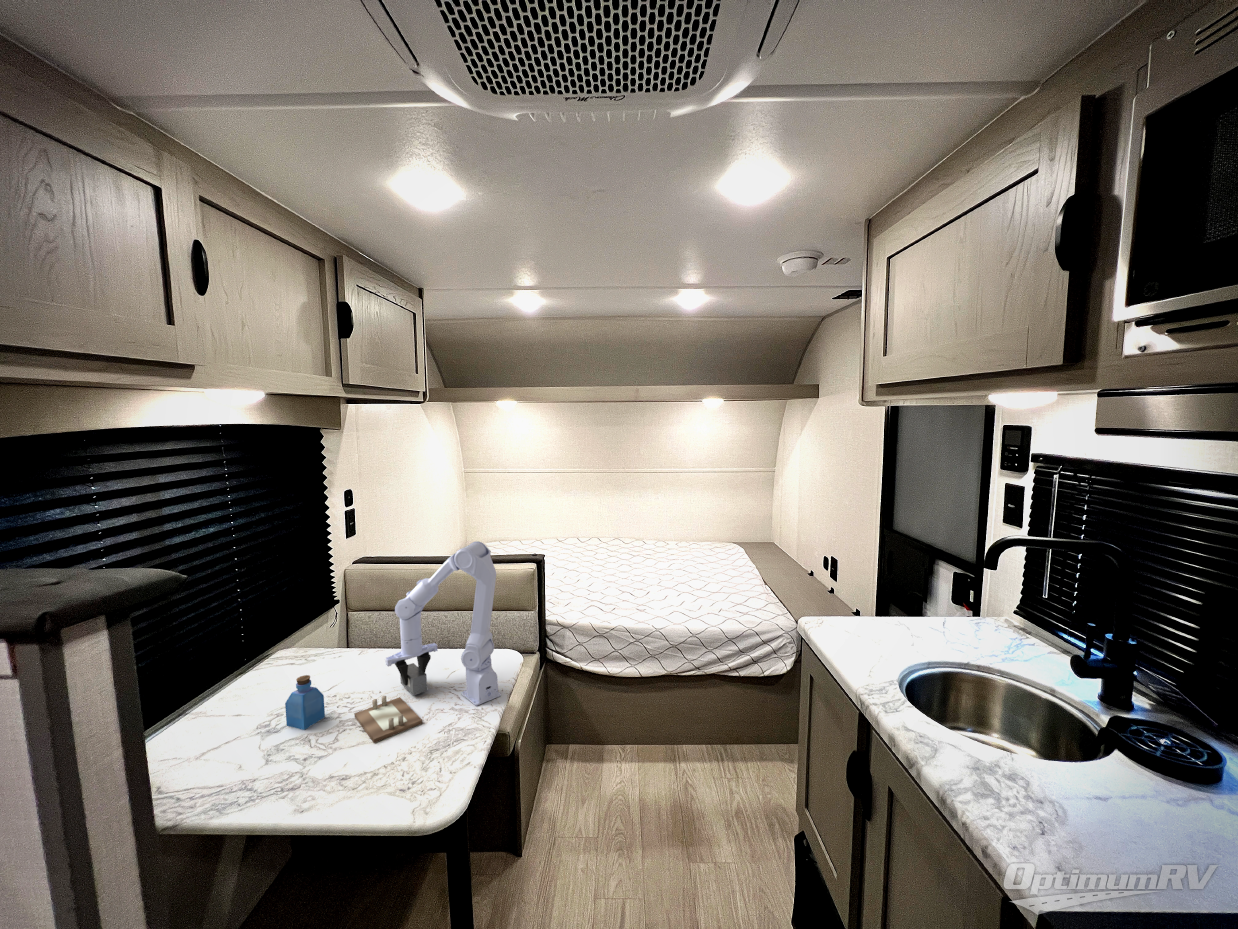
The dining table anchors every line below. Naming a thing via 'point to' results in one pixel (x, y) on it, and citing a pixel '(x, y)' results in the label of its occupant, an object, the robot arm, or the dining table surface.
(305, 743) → the dining table surface
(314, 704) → the perfume bottle
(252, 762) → the dining table surface
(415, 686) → the block
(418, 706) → the dining table surface
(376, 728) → the pin tray
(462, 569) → the robot arm
